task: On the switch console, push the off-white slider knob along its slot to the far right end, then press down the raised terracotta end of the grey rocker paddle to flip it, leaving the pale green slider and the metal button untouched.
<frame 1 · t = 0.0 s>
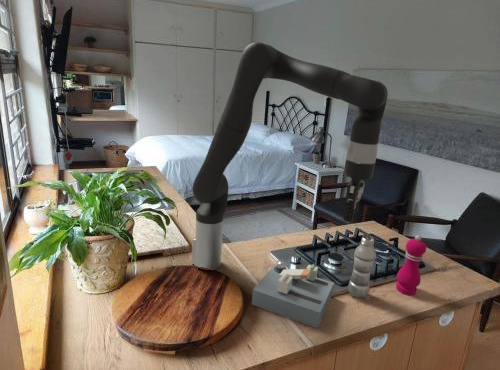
hand: (350, 216, 98), 29 cm above the worktop, tool pointing down, fingers open, 8 cm apart
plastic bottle: (357, 295, 113), on the worktop
pepper mill: (405, 290, 118), on the worktop
green slider: (311, 271, 110), point 8 cm above the worktop, slide at 4.0 cm
rocker: (295, 274, 108), point 8 cm above the worktop, hinge at -18.0°
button: (281, 265, 114), point 7 cm above the worktop, slide at 0.0 cm
slider knob: (284, 283, 103), point 8 cm above the worktop, slide at 0.0 cm
console: (292, 300, 108), on the worktop
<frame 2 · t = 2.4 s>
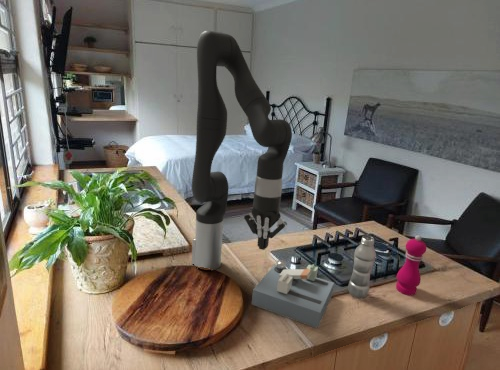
hand: (262, 248, 103), 16 cm above the worktop, tool pointing down, fingers closed
nothing on the worktop moved.
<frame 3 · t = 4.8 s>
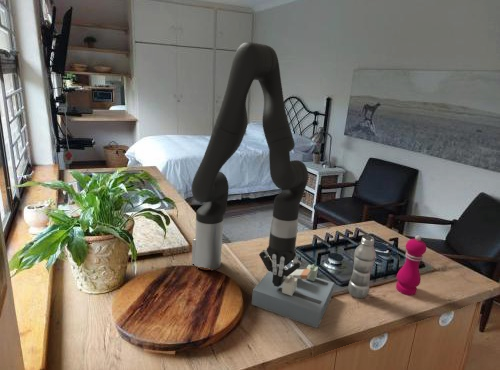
hand: (277, 285, 104), 6 cm above the worktop, tool pointing down, fingers closed
slider knob: (289, 284, 102), point 8 cm above the worktop, slide at 1.6 cm, touching gripper
everything else where it was.
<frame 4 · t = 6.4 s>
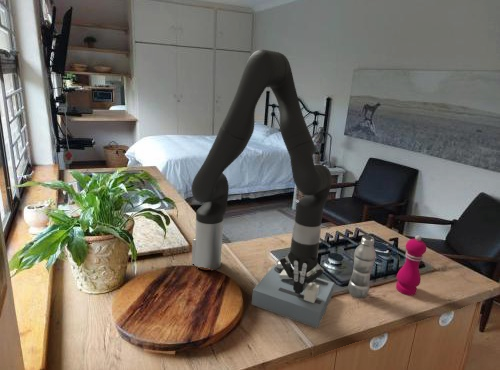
hand: (298, 292, 102), 6 cm above the worktop, tool pointing down, fingers closed
slider knob: (311, 291, 100), point 8 cm above the worktop, slide at 8.0 cm, touching gripper
everything else where it was.
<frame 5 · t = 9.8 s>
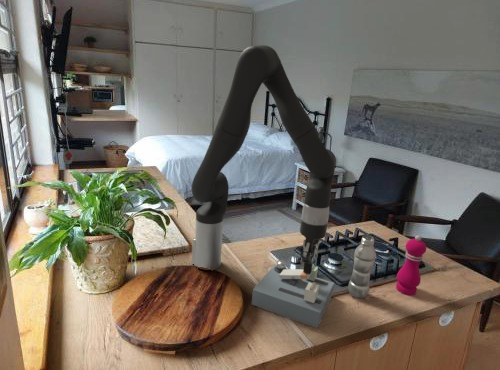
hand: (307, 272, 106), 9 cm above the worktop, tool pointing down, fingers closed
rocker: (295, 274, 108), point 8 cm above the worktop, hinge at -17.9°, touching gripper
slider knob: (311, 291, 100), point 8 cm above the worktop, slide at 8.0 cm
everything else where it was.
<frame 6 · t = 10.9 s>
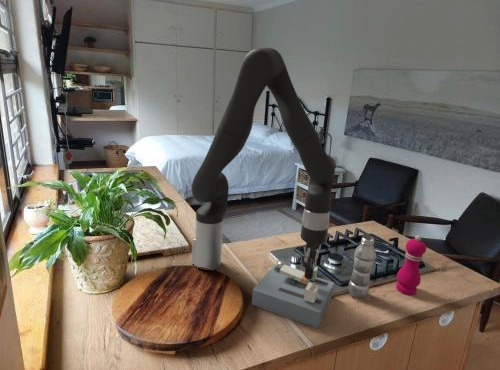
hand: (308, 277, 106), 8 cm above the worktop, tool pointing down, fingers closed
rocker: (295, 274, 108), point 8 cm above the worktop, hinge at 5.3°, touching gripper
everything else where it was.
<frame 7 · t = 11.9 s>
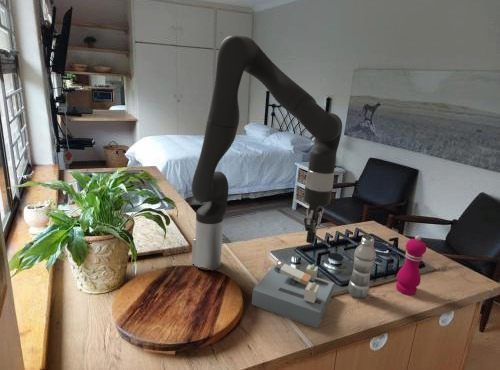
hand: (310, 242, 104), 19 cm above the worktop, tool pointing down, fingers closed
rocker: (295, 274, 108), point 8 cm above the worktop, hinge at 9.2°
everything else where it was.
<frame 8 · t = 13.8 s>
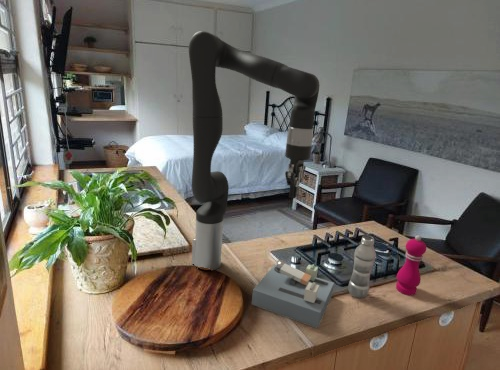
hand: (292, 197, 111), 29 cm above the worktop, tool pointing down, fingers closed
rocker: (295, 274, 108), point 8 cm above the worktop, hinge at 9.8°
everything else where it was.
at the end: slider knob slide at 8.0 cm; rocker at +10° (first picture: -18°); green slider slide at 4.0 cm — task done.
